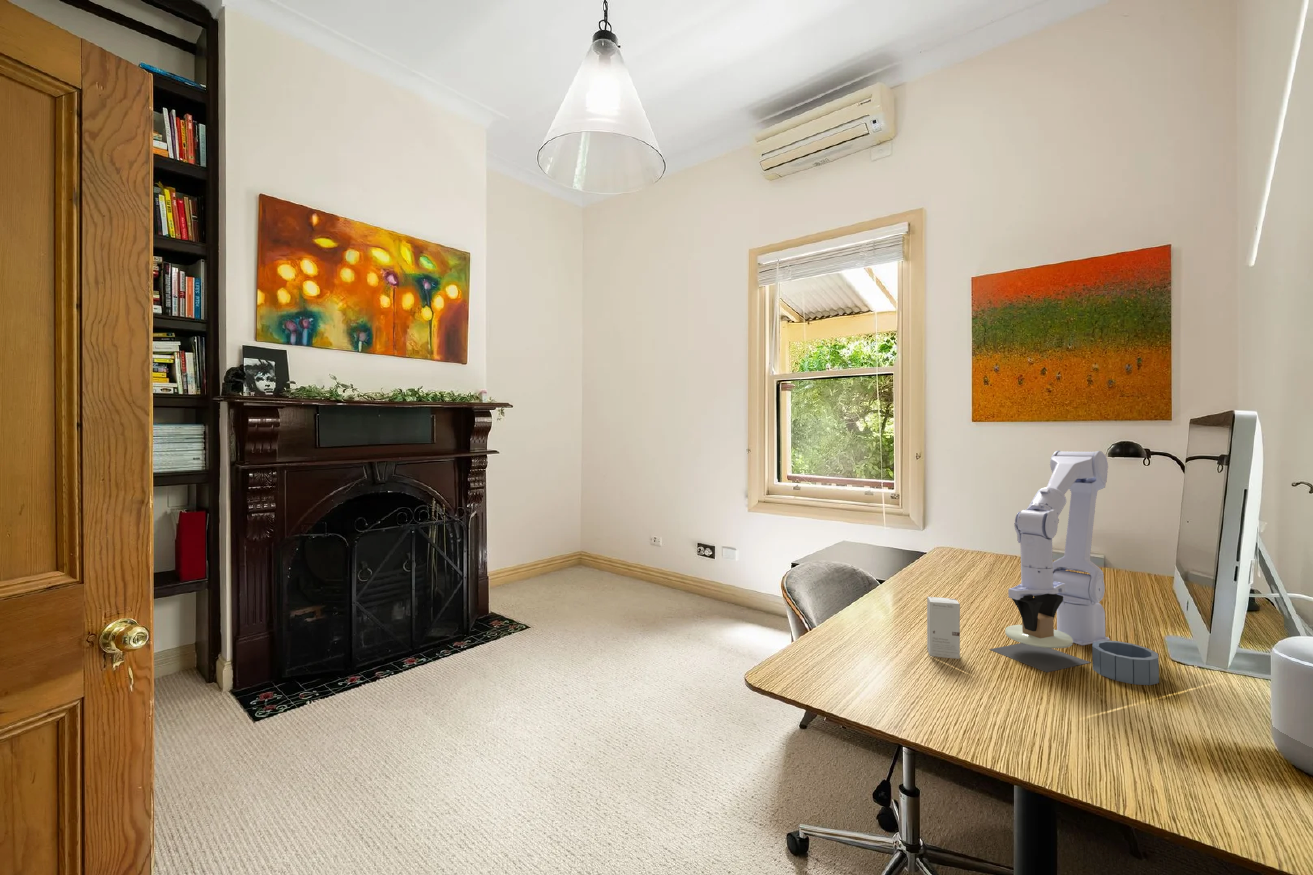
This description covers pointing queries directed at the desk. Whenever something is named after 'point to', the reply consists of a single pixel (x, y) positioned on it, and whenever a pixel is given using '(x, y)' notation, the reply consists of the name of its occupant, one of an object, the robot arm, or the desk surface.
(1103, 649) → the bowl
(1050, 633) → the lid
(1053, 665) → the mat
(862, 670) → the desk surface
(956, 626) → the skincare box
